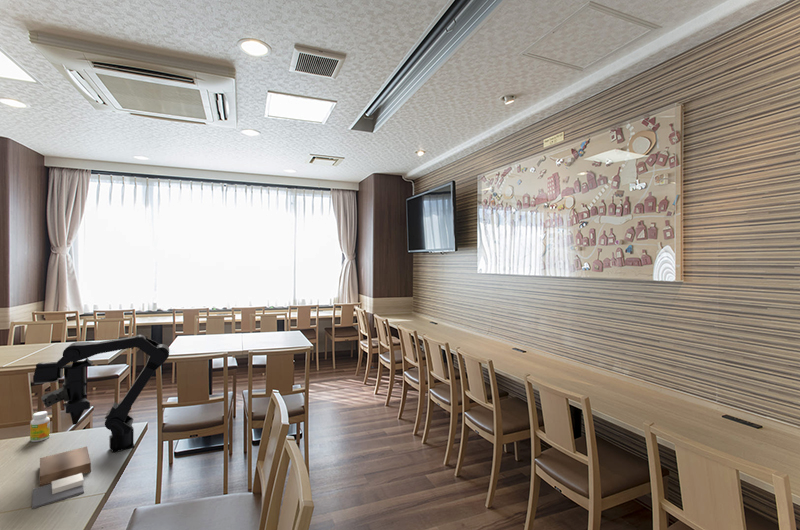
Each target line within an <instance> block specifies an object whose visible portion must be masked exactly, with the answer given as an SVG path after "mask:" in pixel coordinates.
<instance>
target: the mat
mask: <svg viewBox="0 0 800 530" xmlns="http://www.w3.org/2000/svg"><path fill="white" fill-rule="evenodd" d="M31 494H32V499H31V501H32V502H31V509H32V510H33V509H36V508H40V507H43V506H46V505H51V504H53V503H56V502H59V501H62V500H66V499H68V498H69V499H70V498H73V497H75V496H78V495H79V496H80V495H81V494H85V491H84V484H83V485H81V486H78V487H74V488H71V489H68V490H64V491H61V492H58V493H54V494H52V483H50V484H46V485H43V486H39V487H36V488H32V493H31Z"/></svg>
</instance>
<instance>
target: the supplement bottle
mask: <svg viewBox="0 0 800 530" xmlns="http://www.w3.org/2000/svg"><path fill="white" fill-rule="evenodd" d="M50 419H51V418H50V417H49V416H48V411H46V410H44V411H43V410H42V411H36V412H35V413H33V415H32V420H30V423H29V424H30V425H29V428H30V433H29V436H30V437H29V441H30V442H31V443H32V442H34V443H35V442H41V441H44V440H47V439H48V438H49V437H50V435H51V429H50V427H51V421H50ZM49 434H50V435H49Z"/></svg>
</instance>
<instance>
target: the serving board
mask: <svg viewBox="0 0 800 530" xmlns="http://www.w3.org/2000/svg"><path fill="white" fill-rule="evenodd" d="M91 472H92V463H91V457H90V454H89V449H88V446H84V447H79V448H74V449H72V450H71V449H70V450H67V451H62V452H59V453H55V454H50V455H47V456H43V457H39V487H41V486H45V485H48V484H52V481H55V480H59V479H62V478H66V477H69V476H73V475H76V474H80V473H82V475H85V474H88V473H91Z"/></svg>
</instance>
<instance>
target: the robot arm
mask: <svg viewBox="0 0 800 530" xmlns="http://www.w3.org/2000/svg"><path fill="white" fill-rule="evenodd" d="M134 348H137V349H139V350H140V351H142V352H143V353H145V354H146V355H147V356H148V359H147V361H146V364H145V366H144V367H143V368H142V370H141V372H140V373H139V374H138V377H137V378H136V379H135V381H134V382H133V383H132V385H131V386H130V388H129V390H128V391H127V392H126V394H125V395H124V397H123V398H122V400H121V401H119V402H116V401H115V402H113V405H112V406H111V408H110V409H109V410H108V411H107V413H106V414H105V416H104V419H105V421H104V426H105V428H106V429H107V430H109V431H110V432H111V433H110V435H109V437H108V438H109V439H108V440H109V442H108V443H109V445H108V446H109V450H111V451H112V453H117V452H121V451H124V450H127V449H132V448H135V443H134V440H135V439H134V438H135V437H134V436H135V435H134V434H135V433H134V427H133V422H134V418H133V417H131V416H130V415H129V413H130V410H131V407H132V406H133V405H134V403H135V402H136V400H137V398H138V397H139V395H140V394H141V393H142V391H143V390H144V388H145V387H146V385H147V383H148V382H149V381H150V379H151V378H152V376H153V375H154V373H155V372H156V371H157V370H158V369H159V368H160V367H161V366H162V365H164V363H165V362H166V361H167V360H168V359H169V356H170V347H169V346H168V345H167V344H166V343H165V344H164V343H158V342H157V341H155V340H153V339H151V338H148V337H146V336H145V335H144V334H137V335H132V336H127V337H122V338H116V339H109V340H105V341H103V340H102V341H95V342H94V341H75V342H72V343H71V344H69V345H68V346H67V347H65V349H64V350H63V351H62V357H61V358H59V359H58V360H57V361H53V362H52V361H51V362H38V363H36V364H35V369H34V372H33V376H32V381H33V384H34V385H39V384H47V383H48V384H49V383H57V382H59V379H62V378H63V380H64V381H63V383H62V384H61V385H62V386H61V387H60V388H58V389H55V390H53V391H50V392H48V393H46V394H43V395H41V401H42V403H43V405H44V406H45V408H47V409H48V408H50V407H52V406H53V405H55V404H57V403H60V402H62V401H63V402H64V403H62V406H63V409H64V412H65V414H69V415H70V419H71V423H72V425H73V426H74V425H77V424H78V422H79V421H80V419H81V417H82V415H83V413H84V412H85V411H86V410H89V409H91V401H90V400H89V399H87V395H88V394H87V391H86V390H87V387H86V386H87V383H88V382H87V367H91V366H92V365H93V364H94V362H93V361H91V360H90V359H89V358H92V357H94V356H97V355H99V354H103V353H104V354H105V353H106V354H107V353H110V352H117V351H122V350H126V349H127V350H128V349H134ZM69 363H71V364H69Z"/></svg>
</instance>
